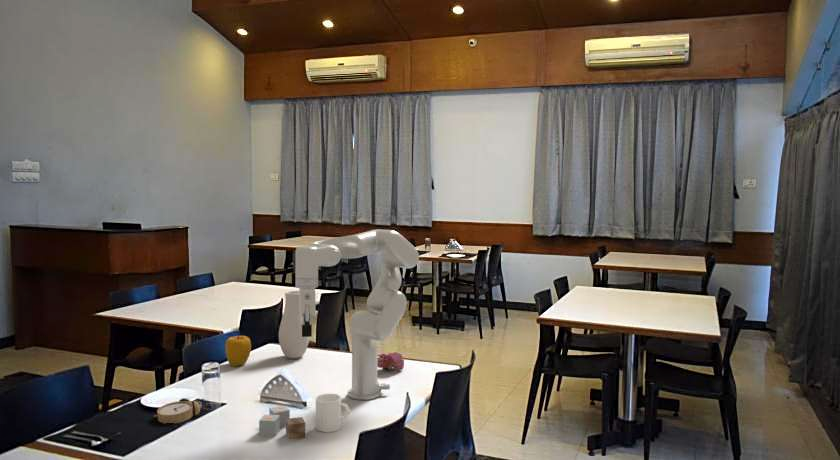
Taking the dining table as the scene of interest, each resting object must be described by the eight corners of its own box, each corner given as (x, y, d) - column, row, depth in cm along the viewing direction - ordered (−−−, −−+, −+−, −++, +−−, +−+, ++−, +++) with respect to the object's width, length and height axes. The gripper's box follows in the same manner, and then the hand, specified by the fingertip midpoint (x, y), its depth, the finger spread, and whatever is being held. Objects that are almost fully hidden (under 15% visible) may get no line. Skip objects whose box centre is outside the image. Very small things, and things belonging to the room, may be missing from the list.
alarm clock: (149, 410, 200) (188, 391, 212) (152, 424, 201) (191, 404, 213) (168, 418, 194) (208, 397, 206) (171, 432, 195) (210, 411, 207)
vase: (273, 360, 271) (273, 294, 269) (285, 352, 284) (285, 289, 282) (303, 362, 268) (303, 295, 266) (313, 354, 282) (313, 290, 280)
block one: (279, 430, 193) (279, 414, 193) (275, 436, 188) (275, 420, 188) (264, 429, 193) (264, 414, 193) (259, 436, 188) (259, 420, 188)
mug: (342, 436, 189) (342, 405, 188) (310, 429, 194) (310, 399, 193) (355, 427, 196) (356, 397, 195) (324, 420, 201) (324, 392, 200)
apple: (246, 368, 258) (246, 339, 257) (221, 368, 258) (221, 338, 257) (254, 361, 269) (254, 332, 268) (230, 361, 269) (229, 332, 268)
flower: (380, 375, 262) (390, 354, 266) (399, 381, 257) (408, 359, 260) (368, 365, 254) (378, 343, 258) (387, 371, 248) (396, 349, 252)
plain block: (302, 432, 192) (302, 416, 191) (305, 438, 187) (305, 422, 187) (286, 434, 190) (286, 418, 189) (289, 440, 185) (289, 424, 185)
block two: (284, 420, 201) (284, 405, 201) (289, 425, 197) (289, 409, 197) (269, 423, 199) (269, 407, 198) (274, 428, 195) (274, 412, 194)
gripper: (319, 285, 197) (319, 341, 199) (316, 279, 212) (316, 330, 213) (295, 286, 196) (295, 342, 197) (295, 279, 210) (295, 331, 211)
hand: (306, 336), depth 205 cm, fingers closed
